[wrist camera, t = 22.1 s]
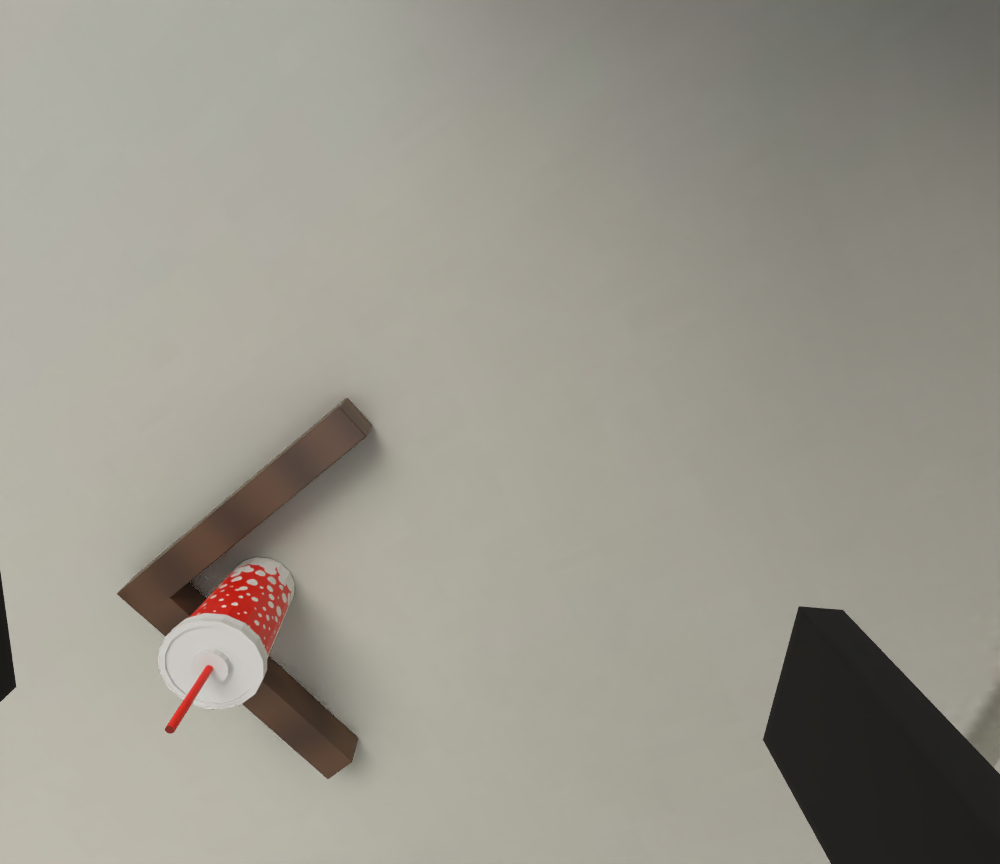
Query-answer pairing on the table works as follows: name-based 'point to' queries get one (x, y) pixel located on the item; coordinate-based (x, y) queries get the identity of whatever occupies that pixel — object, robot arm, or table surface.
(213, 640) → the beverage cup
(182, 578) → the bracket
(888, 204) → the table surface
